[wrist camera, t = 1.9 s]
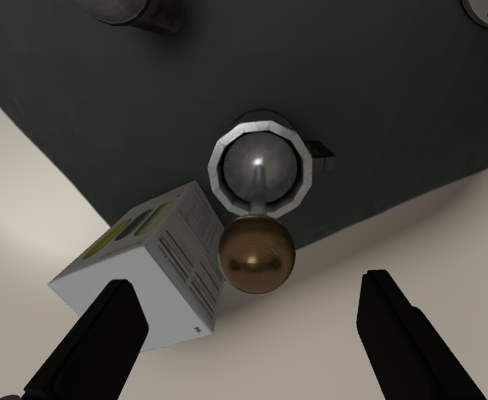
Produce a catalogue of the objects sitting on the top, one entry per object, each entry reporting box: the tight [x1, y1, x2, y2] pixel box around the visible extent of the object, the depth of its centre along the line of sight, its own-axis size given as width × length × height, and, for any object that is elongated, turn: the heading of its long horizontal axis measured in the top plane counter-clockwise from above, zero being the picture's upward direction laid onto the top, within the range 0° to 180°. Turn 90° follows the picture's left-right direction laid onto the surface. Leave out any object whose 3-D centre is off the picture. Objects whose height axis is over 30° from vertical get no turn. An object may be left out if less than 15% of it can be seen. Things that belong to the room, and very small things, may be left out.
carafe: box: [208, 109, 336, 219], centre depth 28 cm, size 13×10×12 cm
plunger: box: [217, 131, 297, 294], centre depth 18 cm, size 8×8×16 cm
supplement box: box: [48, 180, 225, 353], centre depth 33 cm, size 13×13×18 cm
